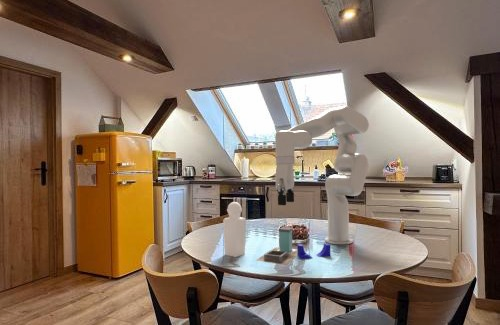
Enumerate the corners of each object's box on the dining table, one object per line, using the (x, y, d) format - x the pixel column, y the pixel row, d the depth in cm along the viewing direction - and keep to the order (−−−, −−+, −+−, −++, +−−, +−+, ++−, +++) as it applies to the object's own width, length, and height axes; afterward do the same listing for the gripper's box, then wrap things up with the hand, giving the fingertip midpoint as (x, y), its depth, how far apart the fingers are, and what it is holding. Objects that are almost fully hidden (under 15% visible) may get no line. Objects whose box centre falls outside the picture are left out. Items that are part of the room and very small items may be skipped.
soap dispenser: (234, 254, 130) (233, 200, 130) (246, 257, 126) (246, 201, 126) (223, 258, 125) (222, 202, 125) (235, 261, 121) (235, 203, 121)
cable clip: (300, 263, 118) (300, 247, 118) (297, 259, 123) (297, 244, 123) (331, 262, 119) (331, 246, 120) (327, 258, 124) (327, 243, 124)
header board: (275, 250, 135) (275, 242, 135) (303, 254, 130) (303, 245, 130) (255, 264, 117) (255, 254, 117) (286, 268, 112) (286, 258, 112)
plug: (282, 248, 132) (282, 227, 132) (292, 249, 130) (292, 227, 130) (279, 251, 128) (278, 228, 128) (289, 252, 126) (289, 229, 126)
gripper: (283, 161, 138) (284, 200, 139) (268, 161, 123) (269, 206, 123) (300, 160, 135) (301, 201, 135) (286, 161, 120) (288, 206, 120)
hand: (286, 203), depth 129 cm, fingers open, 9 cm apart
